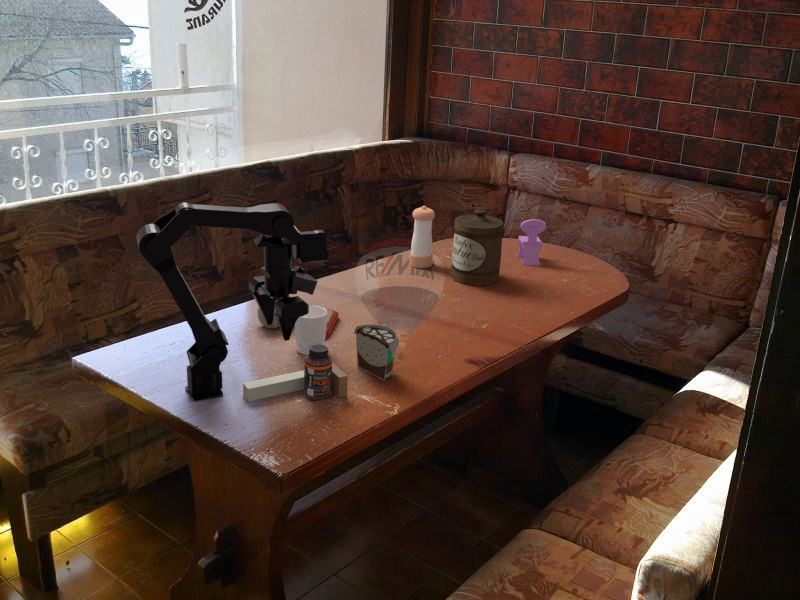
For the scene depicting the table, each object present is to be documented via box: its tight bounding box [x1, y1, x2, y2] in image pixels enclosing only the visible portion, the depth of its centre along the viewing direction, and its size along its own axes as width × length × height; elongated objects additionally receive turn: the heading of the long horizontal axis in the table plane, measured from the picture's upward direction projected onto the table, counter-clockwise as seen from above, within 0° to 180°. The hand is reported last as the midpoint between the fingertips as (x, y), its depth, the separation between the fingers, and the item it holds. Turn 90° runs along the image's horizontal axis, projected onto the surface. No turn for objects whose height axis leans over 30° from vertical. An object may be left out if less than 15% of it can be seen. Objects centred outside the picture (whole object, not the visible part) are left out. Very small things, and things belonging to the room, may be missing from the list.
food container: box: [353, 324, 400, 382], centre depth 193 cm, size 12×6×10 cm, turn 44°
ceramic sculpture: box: [257, 295, 292, 329], centre depth 217 cm, size 11×9×15 cm
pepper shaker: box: [409, 205, 436, 269], centre depth 263 cm, size 7×7×19 cm
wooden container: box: [450, 207, 504, 286], centre depth 254 cm, size 15×15×22 cm
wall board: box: [242, 361, 348, 402], centre depth 181 cm, size 20×10×5 cm, turn 121°
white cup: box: [294, 305, 328, 356], centre depth 202 cm, size 8×8×10 cm
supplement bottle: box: [303, 344, 333, 401], centre depth 180 cm, size 6×6×11 cm
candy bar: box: [325, 308, 340, 340], centre depth 216 cm, size 16×4×3 cm, turn 172°
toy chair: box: [516, 218, 547, 267], centre depth 273 cm, size 8×9×15 cm
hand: (278, 332), depth 182 cm, fingers open, 9 cm apart
